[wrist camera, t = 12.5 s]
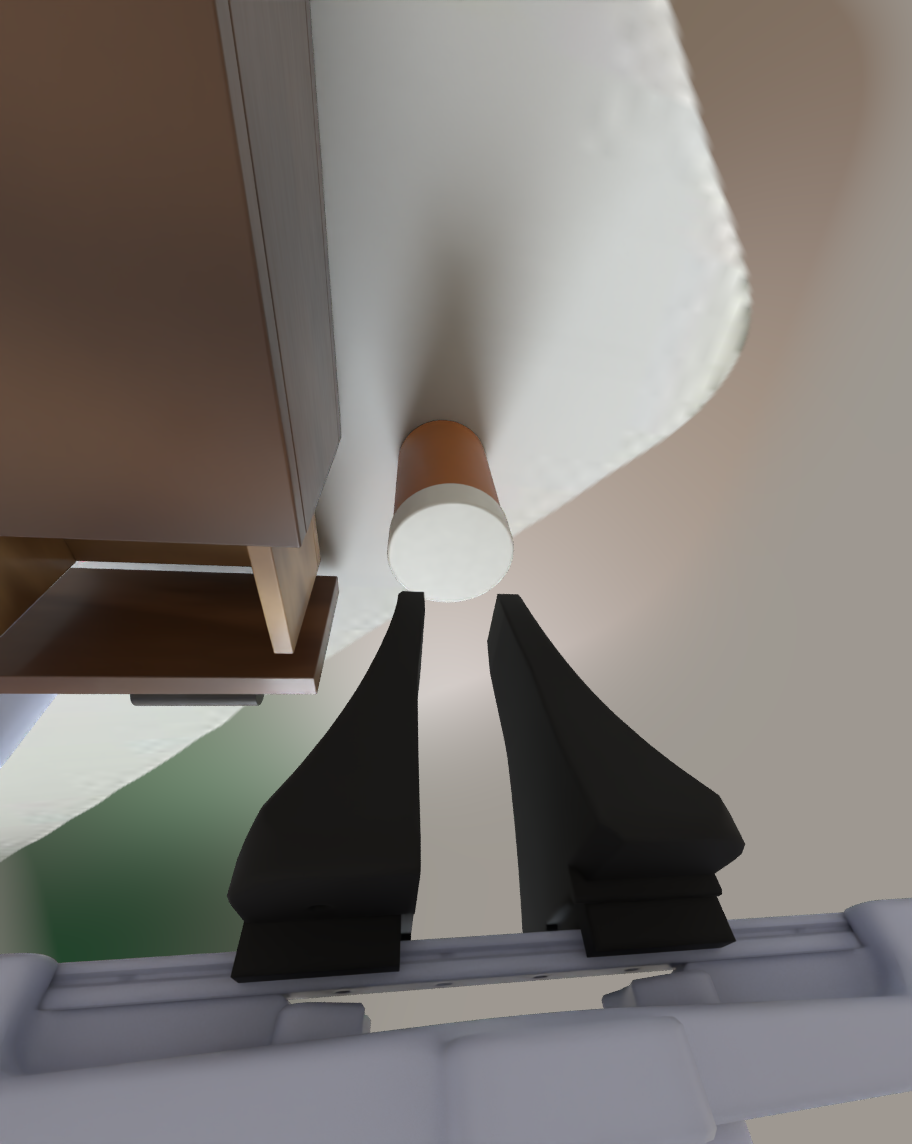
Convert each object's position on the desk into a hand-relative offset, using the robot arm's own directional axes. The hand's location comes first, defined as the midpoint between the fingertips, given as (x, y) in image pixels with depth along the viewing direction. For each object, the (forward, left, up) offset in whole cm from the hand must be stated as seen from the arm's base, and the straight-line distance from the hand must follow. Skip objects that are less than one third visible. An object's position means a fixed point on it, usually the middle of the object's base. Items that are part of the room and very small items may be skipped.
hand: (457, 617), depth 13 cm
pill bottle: (0, 0, -10) cm, 10 cm away
